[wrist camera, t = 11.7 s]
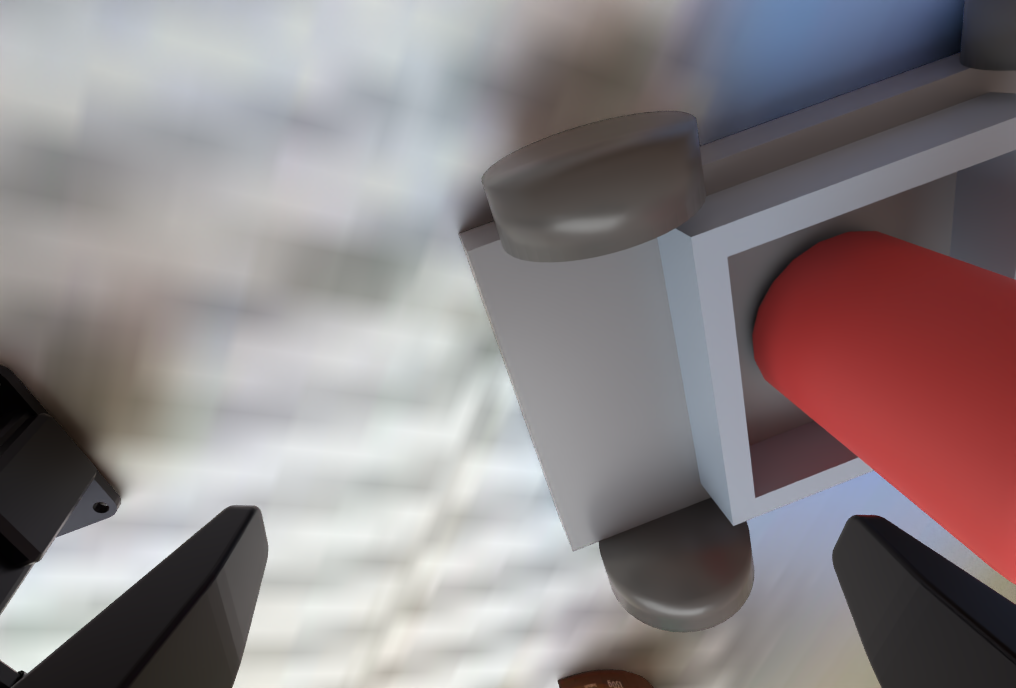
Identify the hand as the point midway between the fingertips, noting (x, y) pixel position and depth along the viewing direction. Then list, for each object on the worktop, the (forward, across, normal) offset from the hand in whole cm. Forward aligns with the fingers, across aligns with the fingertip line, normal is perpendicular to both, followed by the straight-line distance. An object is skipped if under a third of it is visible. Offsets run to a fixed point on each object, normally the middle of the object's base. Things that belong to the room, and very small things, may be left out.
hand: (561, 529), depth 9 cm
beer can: (+13, -12, +2) cm, 17 cm away
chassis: (+15, -12, +2) cm, 19 cm away
